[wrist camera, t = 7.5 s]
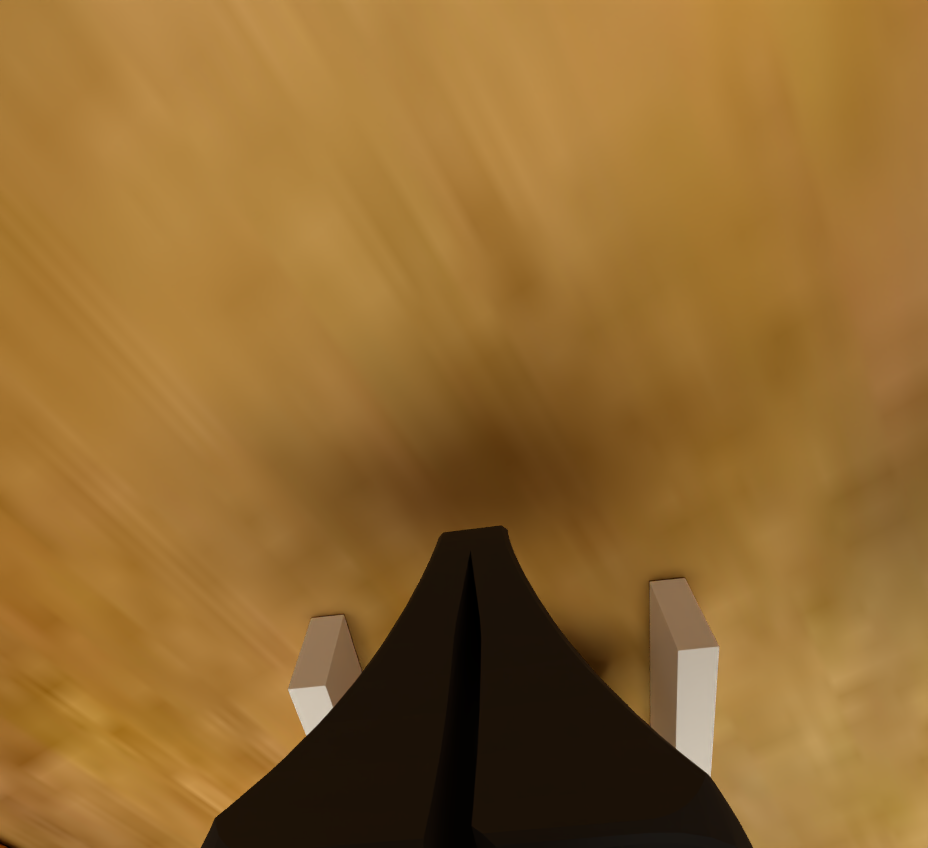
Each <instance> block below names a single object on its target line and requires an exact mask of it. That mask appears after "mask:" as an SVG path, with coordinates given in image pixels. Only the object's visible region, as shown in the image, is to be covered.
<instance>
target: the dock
mask: <svg viewBox="0 0 928 848" xmlns="http://www.w3.org/2000/svg"><path fill="white" fill-rule="evenodd" d="M718 657H719V645H718V643H717V641H716V639H715V637H714V635H713V633H712V631H711V629H710V627H709V625H708V623H707V621H706V619H705V617H704V615H703V613H702V611H701V609H700V607H699V605H698V603H697V601H696V599H695V597H694V595H693V593H692V591H691V589H690V587H689V585H688V583H687V581H686V579H685V578H679V579H670V580H661V581H651V582H650V727H651V728H653V729H654V730H655V731H656V732H657V733H658V734H659V735H660V736H661V737H663V738H664V739H665V740H666V741H667V742H669V743H670V744H671V745H672V746H673V747H675V748H676V749H677V750H678V751H680V752H681V753H682V754H683V755H684V756H686V757H687V758H688V759H689V760H691V761H692V762H693V763H695V764H696V765H697V766H698V767H700V768H701V769H702V770H704V771H705V772H706V773H707V774H708V775H709V776H710V777H711V763H712V748H713V733H714V718H715V703H716V688H717V672H718ZM361 673H362V671H361V668H360V665H359V661H358V658H357V655H356V652H355V649H354V645H353V642H352V639H351V636H350V633H349V629H348V626H347V623H346V620H345V617H344V615H335V616H326V617H317V618H311V620H310V623H309V626H308V629H307V632H306V636H305V639H304V642H303V645H302V648H301V651H300V654H299V657H298V660H297V663H296V666H295V669H294V672H293V675H292V678H291V681H290V684H289V688H288V691H289V693H290V696H291V698H292V701H293V703H294V706H295V708H296V711H297V713H298V716H299V718H300V721H301V723H302V726H303V728H304V731H305V733H306V736H307V735H308V734H309V733H310V732H311V731H312V730H313V729H314V728H315V727H316V726H317V725H318V724H319V723H320V722H321V720H322V719H323V718H324V717H325V716H326V715H327V714H328V713H329V712H330V710H331V709H332V708H333V707H334V706H335V705H336V704H337V702H338V701H339V700H340V699H341V698H342V696H343V695H344V694H345V693H346V692H347V690H348V689H349V688H350V687H351V686H352V684H353V683H354V682H355V681H356V679H357V678H358V677H359V676H360V674H361Z"/></svg>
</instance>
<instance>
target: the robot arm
mask: <svg viewBox="0 0 928 848" xmlns="http://www.w3.org/2000/svg"><path fill="white" fill-rule="evenodd" d="M201 848H753V847H752V845H751V843H750V841H749V839H748V837H747V835H746V833H745V831H744V830H743V828H742V826H741V824H740V822H739V821H738V819H737V817H736V816H735V814H734V812H733V811H732V809H731V807H730V806H729V804H728V803H727V801H726V800H725V798H724V797H723V795H722V793H721V792H720V790H719V789H718V787H717V786H716V784H715V783H714V781H713V780H712V779H711V777H710V776H709V775H708V774H707V773H706V772H705V771H704V770H702V769H701V768H700V767H698V766H697V765H696V764H695V763H693V762H692V761H691V760H689V759H688V758H687V757H686V756H684V755H683V754H682V753H681V752H680V751H678V750H677V749H676V748H675V747H673V746H672V745H671V744H670V743H669V742H667V741H666V740H665V739H664V738H663V737H661V736H660V735H659V734H658V733H657V732H656V731H655V730H654V729H653V728H651V727H650V726H649V725H648V724H647V723H646V722H645V721H644V720H642V719H641V718H640V717H639V716H638V715H637V714H636V713H635V712H634V711H633V710H632V709H631V708H630V707H629V706H628V705H627V704H626V703H625V702H624V701H623V700H622V699H621V698H620V697H619V696H618V695H617V694H616V693H615V692H614V691H613V690H612V689H611V688H610V687H609V686H608V685H607V684H606V683H605V682H604V681H603V680H602V679H601V678H600V677H599V676H598V675H597V674H596V673H595V672H594V670H593V669H592V668H591V667H590V666H589V665H588V664H587V662H586V661H585V660H584V659H583V658H582V657H581V656H580V654H579V653H578V652H577V651H576V649H575V648H574V647H573V646H572V645H571V643H570V642H569V641H568V640H567V638H566V637H565V636H564V634H563V633H562V632H561V630H560V629H559V628H558V626H557V625H556V624H555V622H554V621H553V619H552V618H551V616H550V615H549V613H548V612H547V610H546V609H545V608H544V606H543V604H542V603H541V601H540V600H539V598H538V597H537V595H536V593H535V592H534V590H533V588H532V586H531V585H530V583H529V581H528V579H527V578H526V576H525V574H524V572H523V570H522V568H521V566H520V564H519V562H518V560H517V558H516V556H515V554H514V551H513V549H512V546H511V543H510V540H509V536H508V530H507V529H506V528H504V527H503V526H494V527H486V528H477V529H469V530H461V531H453V532H444V533H443V534H442V535H441V536H440V537H439V539H438V542H437V544H436V547H435V549H434V552H433V554H432V556H431V559H430V561H429V563H428V565H427V567H426V569H425V571H424V573H423V575H422V577H421V579H420V581H419V583H418V585H417V587H416V589H415V591H414V593H413V594H412V596H411V598H410V600H409V602H408V604H407V605H406V607H405V609H404V611H403V612H402V614H401V615H400V617H399V619H398V620H397V622H396V624H395V625H394V627H393V628H392V630H391V632H390V633H389V635H388V636H387V638H386V639H385V641H384V642H383V644H382V645H381V647H380V648H379V650H378V651H377V653H376V654H375V655H374V657H373V658H372V660H371V661H370V662H369V664H368V665H367V666H366V668H365V669H364V670H363V672H362V673H361V674H360V676H359V677H358V678H357V679H356V681H355V682H354V683H353V684H352V686H351V687H350V688H349V689H348V690H347V692H346V693H345V694H344V695H343V696H342V698H341V699H340V700H339V701H338V702H337V704H336V705H335V706H334V707H333V708H332V709H331V710H330V712H329V713H328V714H327V715H326V716H325V717H324V718H323V719H322V720H321V722H320V723H319V724H318V725H317V726H316V727H315V728H314V729H313V730H312V731H311V732H310V733H309V734H308V735H307V736H306V737H305V738H304V739H303V740H302V741H301V742H300V743H299V744H298V745H297V746H296V747H295V748H294V749H293V750H292V751H291V752H290V753H289V754H288V755H287V756H286V757H285V758H284V759H283V760H282V761H281V762H280V763H279V764H278V765H277V766H276V767H274V768H273V769H272V770H271V771H270V772H269V773H268V774H267V775H265V776H264V777H263V778H262V779H261V780H260V781H258V782H257V783H256V784H255V785H254V786H253V787H251V788H250V789H249V790H248V791H247V792H246V793H244V794H243V795H242V796H241V797H240V798H239V799H237V800H236V801H235V802H234V803H233V804H232V805H230V806H229V807H228V808H227V809H226V810H224V811H223V812H222V813H221V814H219V815H218V816H217V817H216V818H215V819H214V822H213V824H212V826H211V828H210V831H209V833H208V835H207V837H206V839H205V841H204V843H203V844H202V846H201Z"/></svg>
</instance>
